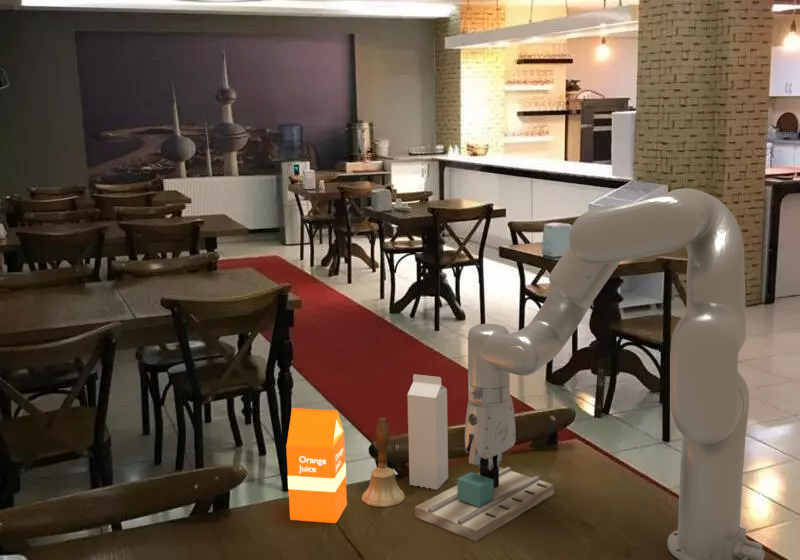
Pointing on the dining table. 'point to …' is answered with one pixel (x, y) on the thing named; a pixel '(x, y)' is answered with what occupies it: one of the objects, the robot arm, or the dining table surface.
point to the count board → (479, 521)
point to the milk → (427, 432)
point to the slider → (475, 489)
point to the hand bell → (382, 475)
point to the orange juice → (316, 465)
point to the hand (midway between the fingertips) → (489, 486)
